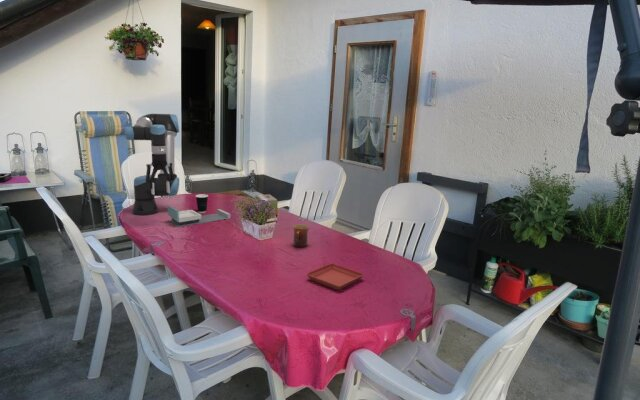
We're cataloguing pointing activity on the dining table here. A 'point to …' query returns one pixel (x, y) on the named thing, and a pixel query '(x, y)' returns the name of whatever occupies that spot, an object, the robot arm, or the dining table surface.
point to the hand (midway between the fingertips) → (160, 193)
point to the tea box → (269, 200)
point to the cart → (183, 215)
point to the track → (205, 218)
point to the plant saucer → (334, 276)
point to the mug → (300, 235)
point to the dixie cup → (202, 203)
